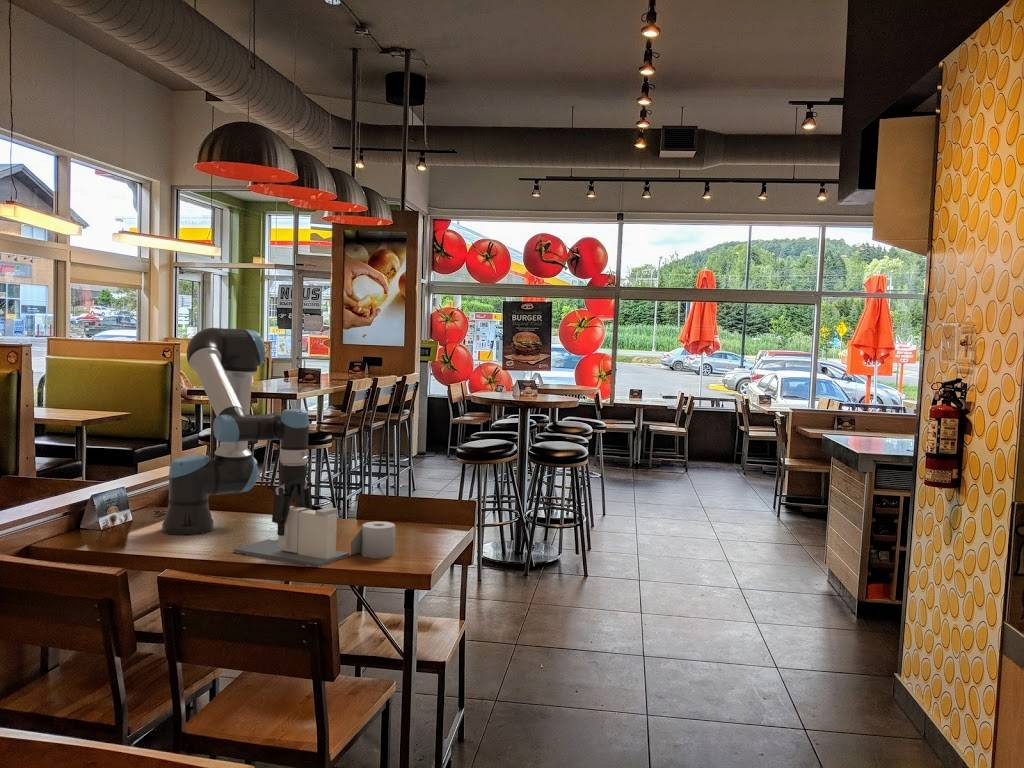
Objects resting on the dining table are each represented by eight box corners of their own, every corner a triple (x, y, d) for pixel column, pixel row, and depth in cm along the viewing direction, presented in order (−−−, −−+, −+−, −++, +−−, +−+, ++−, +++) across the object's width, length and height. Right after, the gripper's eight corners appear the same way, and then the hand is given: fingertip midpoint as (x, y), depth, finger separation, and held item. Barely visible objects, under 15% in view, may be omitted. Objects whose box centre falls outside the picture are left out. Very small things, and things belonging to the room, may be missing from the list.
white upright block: (279, 550, 219) (280, 508, 218) (289, 547, 223) (290, 505, 222) (296, 552, 216) (297, 510, 216) (306, 549, 220) (307, 508, 220)
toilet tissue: (343, 554, 221) (344, 525, 221) (384, 548, 230) (385, 520, 230) (358, 561, 214) (359, 531, 214) (400, 555, 223) (401, 526, 222)
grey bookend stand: (233, 552, 220) (234, 502, 219) (268, 542, 232) (269, 495, 232) (317, 567, 207) (319, 515, 207) (349, 556, 220) (350, 506, 219)
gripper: (280, 468, 208) (278, 553, 209) (326, 461, 226) (324, 538, 227) (258, 466, 211) (256, 549, 212) (306, 459, 229) (304, 535, 230)
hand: (291, 543), depth 220 cm, fingers open, 7 cm apart
